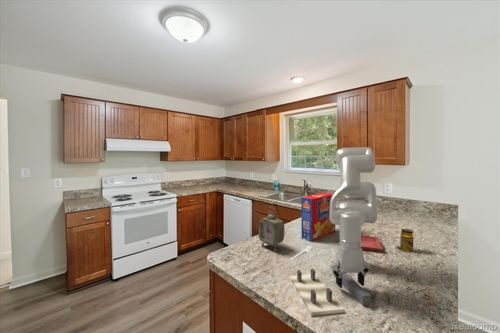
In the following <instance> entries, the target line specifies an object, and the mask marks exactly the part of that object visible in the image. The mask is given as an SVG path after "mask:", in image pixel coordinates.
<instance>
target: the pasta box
mask: <svg viewBox="0 0 500 333" xmlns="http://www.w3.org/2000/svg"><path fill="white" fill-rule="evenodd" d="M333 194H334V193H331V192H323V193H316V194H312V195H311V194H310V195H306V196H301V197H300V198H301V201H300V202H301V203H300V204H301V205H300V206H301V219H300V220H301V240H304V239H305V240H304V241H307V242H310V243H313V242H316V241H318V240H321V239H323V238H325V237H329V236H330V235H333V234H335V233H336V225H335V224H333V223H331V221H330V218H329V211H330V200H331V197H332V195H333Z"/></svg>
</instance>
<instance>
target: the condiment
mask: <svg viewBox="0 0 500 333" xmlns="http://www.w3.org/2000/svg"><path fill="white" fill-rule="evenodd" d="M400 230H401V231H400V239H399V241H400V242H399V243H400V244H399V246H398V245H395V250H396V251H397V252H402V253H407V254H414V255H415V254H416V253H415V251H414V234H413V232H414V231H413V229H409V228H401V229H400Z"/></svg>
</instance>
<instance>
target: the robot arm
mask: <svg viewBox="0 0 500 333" xmlns="http://www.w3.org/2000/svg"><path fill="white" fill-rule="evenodd" d="M335 159H336V164H337V165H338V166H337V167H338V169H339V172H340V186H339V187H338V188H337V189H336V190H335V191H334V193H332V194H333V195H332V197H331V200H330V211H329V218H330V221H331V223H333V224H335V226H339V228H338V229H339V239H338V240H339V244H338V246H337V249H336V250H337V251H336V255H335V256H336V257H335V262H334V263H332V264H331V265H329V268H330V270H331V272H332V273H333V275H334V274H335V275H336V278H335V283H336V285H337V286H338V287H339V288H340V289H342V288H343V285H342V278H341V276H342V275H343V274H344V273H347V274H352V273H355V274H356V273H357V283H358V284H359V285H360V286H361V287H364V286H365V277H366V275H367V273H368V272H369V269H370V267H371V263H369V262H367V261H365V258H364V256H365V255H364V250H362V247H361V243H363V241H362V240H361V236H362V230H361V229H362V227H363V225H364V224H374V223H376V221H377V220H378V200H377V198H378V197H377V190H376V186H375V184H374V183H373V182H369V181H361V173H362V174H363V173H365V174H367V173H368V174H371V173H373V172H374V171H375V168H376V159H375V154H374V150H373V149H372V148H371V147H369V146H368V147H367V146H365V147H364V146H363V147H362V146H361V147H360V146H359V147H343V148H339V149H338V150H337V151H336V154H335ZM340 198H343V199H344V200H345V199H346V200H349V201H342V202H339V204H338V206H337V203H338V200H339V199H340ZM357 201H364V202H357ZM335 268H338V269H337V270H335ZM340 271H341V272H340ZM339 272H340V273H339Z"/></svg>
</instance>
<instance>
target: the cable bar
mask: <svg viewBox="0 0 500 333" xmlns="http://www.w3.org/2000/svg"><path fill="white" fill-rule="evenodd" d="M337 269H338V268H335V270H337ZM340 272H341V271H340ZM340 272H339V273H340ZM333 277H334V278H335V279H336V275H335V274H334V273H333ZM341 278H342V287H344V288H345V290H347V291H348V292H349V293H350V295H352V296H353V297H354V298H355V299H356V301H358V303H359V304H360V305H361V306H363V307H365V306H371V294H370V293H369V292H367V291H366V290H365V288H363V286H362V285H361V284H360V283H358V281H355V279H353V278H352V277H351V276H350V275H349V273H344V274H343V275H342V276H341Z"/></svg>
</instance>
